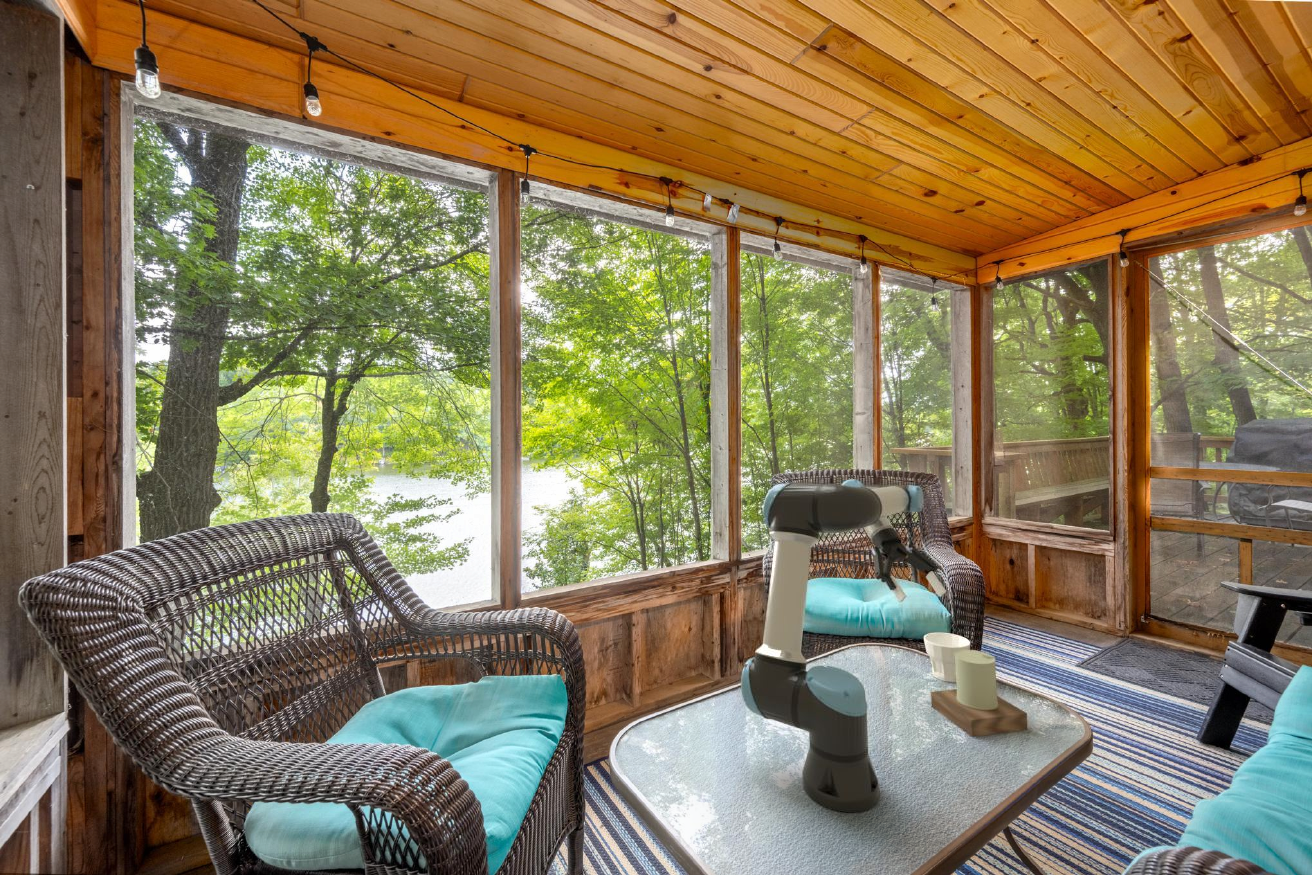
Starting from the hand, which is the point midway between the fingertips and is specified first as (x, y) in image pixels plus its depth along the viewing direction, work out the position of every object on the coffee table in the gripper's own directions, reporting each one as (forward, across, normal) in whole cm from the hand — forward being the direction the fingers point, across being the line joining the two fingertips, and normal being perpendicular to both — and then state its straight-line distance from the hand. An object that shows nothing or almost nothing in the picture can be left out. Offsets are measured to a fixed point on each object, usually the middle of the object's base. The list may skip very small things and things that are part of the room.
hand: (923, 596), depth 147 cm
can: (+25, -5, -10) cm, 28 cm away
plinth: (+28, -5, -12) cm, 31 cm away
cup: (+13, -18, -27) cm, 35 cm away
